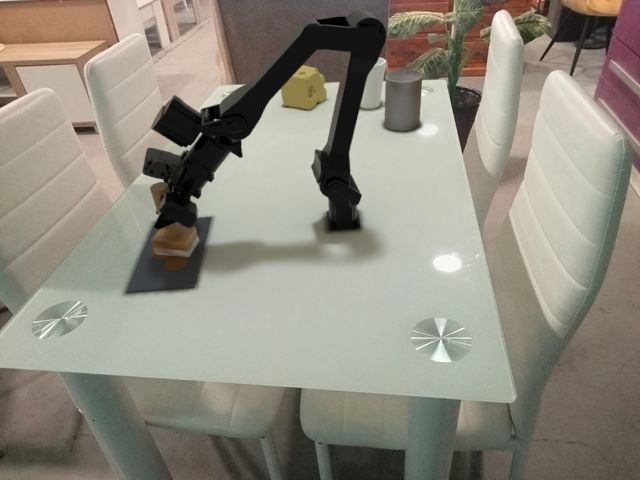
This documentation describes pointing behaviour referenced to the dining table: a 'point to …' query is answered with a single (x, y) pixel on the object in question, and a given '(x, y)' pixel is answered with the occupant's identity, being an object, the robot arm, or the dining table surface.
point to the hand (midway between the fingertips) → (157, 221)
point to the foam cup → (374, 86)
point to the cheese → (304, 88)
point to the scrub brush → (172, 231)
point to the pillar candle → (403, 99)
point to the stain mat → (168, 265)
